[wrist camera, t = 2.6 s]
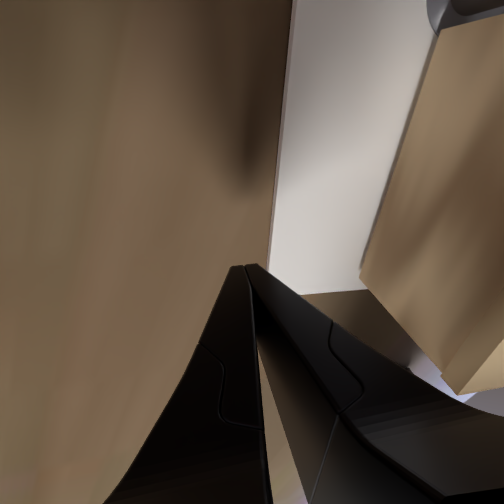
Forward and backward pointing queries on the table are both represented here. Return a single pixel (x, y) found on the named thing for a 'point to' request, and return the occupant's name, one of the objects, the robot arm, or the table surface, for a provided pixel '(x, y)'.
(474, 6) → the fence fixed
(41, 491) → the table surface
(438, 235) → the fence fold
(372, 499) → the robot arm
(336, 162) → the mat
